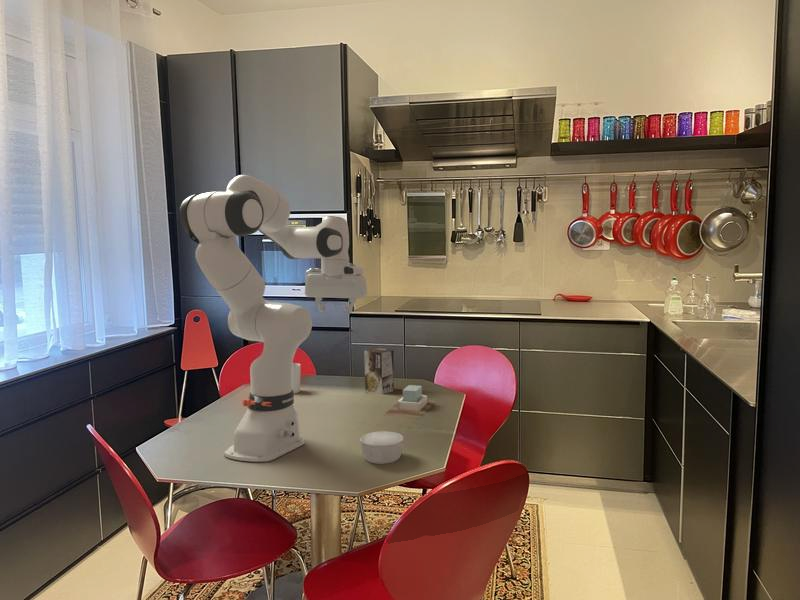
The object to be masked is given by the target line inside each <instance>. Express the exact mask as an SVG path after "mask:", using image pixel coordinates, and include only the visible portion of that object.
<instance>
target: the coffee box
mask: <svg viewBox="0 0 800 600" xmlns="http://www.w3.org/2000/svg"><path fill="white" fill-rule="evenodd" d="M363 355H364V379H365V380H364V384H365V385H364V386H365V388H364V389H365V391H364V392H365V394H369V393H370V392H372V393H375V394H380V395H385V394H388V393H391V392H394V391H395V384H394V383H395V382H394V381H395V378H394V370H395V369H394V367H395V366H394V364H395V363H394V349H389V348H380V347H373V348H372V347H371V348H368V349H364V353H363Z"/></svg>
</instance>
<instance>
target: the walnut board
mask: <svg viewBox="0 0 800 600" xmlns="http://www.w3.org/2000/svg"><path fill="white" fill-rule="evenodd" d="M436 402H437V400H432V399H431V400H430V399H428V403H427V404H426V405H425V406H424V407H423V408H422V409H421V410H420V411H412V410H400V409H397V402H396V403H395V404H394V405H393V406H391V408H390V409H388V410H387V411H386V412H385V413H384V414H383V416H390V417H403V418H413V419H414V418H415V419H422V418H423V416H424V415H425V414H427V412H428V411H429V409H431V408H432V406H433V405H435V403H436Z"/></svg>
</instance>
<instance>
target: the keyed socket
mask: <svg viewBox="0 0 800 600" xmlns="http://www.w3.org/2000/svg"><path fill="white" fill-rule="evenodd" d="M428 400H429V399H428V394H427V395H425V394H422V399H421V400H420V401H419V402H418V403H417V402H404V401H403V396H401V398H399V399H398V400H397V401H396V403H397V409H400V410H412V411H420V410H421V409H422V408H423V407H424V406H425V405H426V404H427V403H428Z"/></svg>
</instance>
